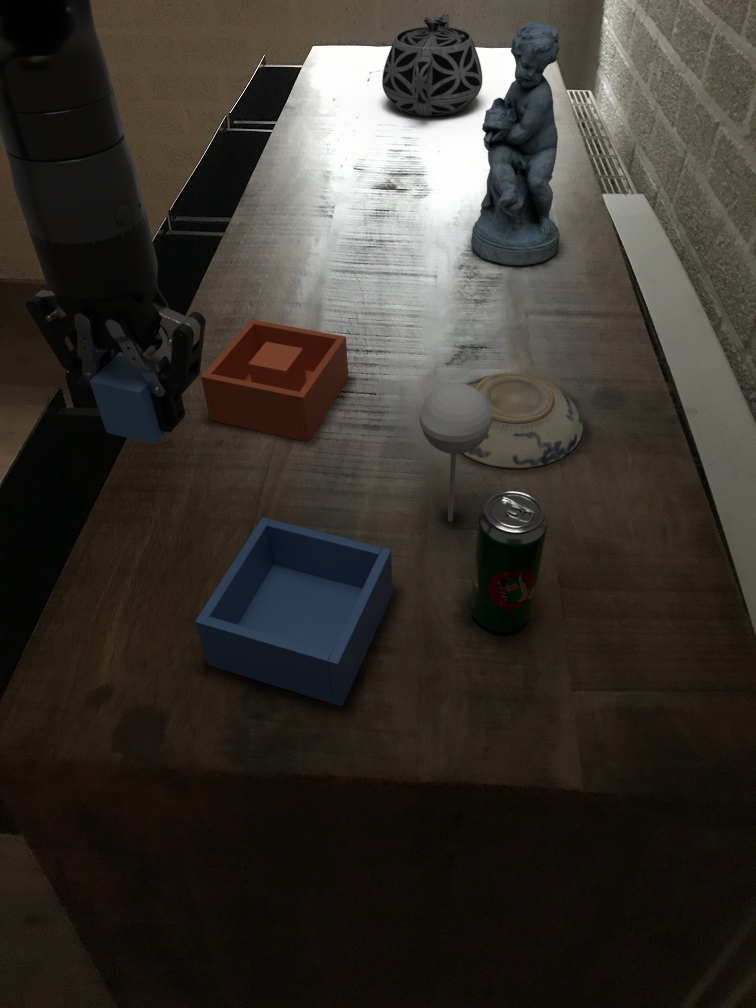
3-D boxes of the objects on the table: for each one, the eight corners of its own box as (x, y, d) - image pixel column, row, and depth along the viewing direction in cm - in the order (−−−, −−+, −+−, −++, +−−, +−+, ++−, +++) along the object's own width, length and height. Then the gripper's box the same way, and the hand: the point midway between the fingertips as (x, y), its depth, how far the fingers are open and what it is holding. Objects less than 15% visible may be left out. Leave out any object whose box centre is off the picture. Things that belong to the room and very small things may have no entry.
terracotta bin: (210, 420, 86) (200, 376, 82) (257, 361, 94) (250, 318, 90) (308, 442, 83) (303, 397, 79) (348, 379, 91) (346, 336, 87)
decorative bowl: (610, 424, 84) (503, 364, 92) (617, 396, 82) (506, 337, 90) (517, 492, 77) (410, 421, 85) (521, 464, 75) (410, 394, 83)
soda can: (486, 580, 69) (497, 478, 61) (540, 602, 67) (559, 501, 59) (459, 620, 66) (467, 520, 58) (515, 645, 64) (532, 545, 56)
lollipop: (452, 488, 78) (459, 359, 67) (496, 521, 74) (510, 390, 64) (404, 518, 75) (404, 389, 64) (447, 553, 72) (455, 423, 61)
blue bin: (208, 665, 64) (194, 621, 60) (270, 562, 71) (262, 516, 67) (342, 707, 61) (337, 664, 57) (392, 594, 68) (391, 549, 64)
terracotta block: (254, 401, 87) (248, 363, 84) (271, 379, 90) (266, 341, 86) (291, 409, 86) (286, 370, 82) (307, 386, 89) (303, 348, 85)
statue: (472, 287, 112) (490, 125, 87) (462, 168, 122) (476, -9, 97) (559, 284, 112) (602, 120, 87) (542, 165, 121) (577, -14, 96)
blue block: (106, 433, 63) (89, 381, 59) (136, 401, 66) (121, 349, 62) (154, 444, 62) (140, 392, 58) (183, 411, 65) (170, 359, 61)
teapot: (489, 80, 164) (495, -4, 154) (471, 134, 143) (476, 41, 133) (399, 76, 168) (398, -6, 157) (368, 129, 146) (365, 38, 136)
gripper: (210, 202, 52) (245, 409, 64) (31, 176, 56) (95, 377, 68) (150, 253, 47) (200, 468, 59) (-43, 221, 51) (40, 430, 63)
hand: (144, 418), depth 64 cm, fingers closed on blue block, 4 cm apart
